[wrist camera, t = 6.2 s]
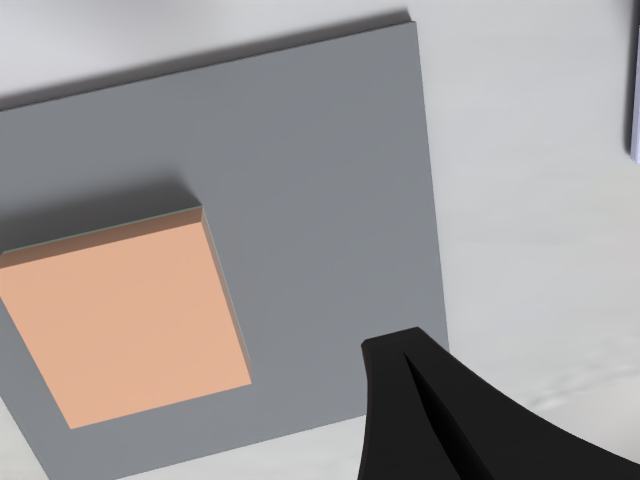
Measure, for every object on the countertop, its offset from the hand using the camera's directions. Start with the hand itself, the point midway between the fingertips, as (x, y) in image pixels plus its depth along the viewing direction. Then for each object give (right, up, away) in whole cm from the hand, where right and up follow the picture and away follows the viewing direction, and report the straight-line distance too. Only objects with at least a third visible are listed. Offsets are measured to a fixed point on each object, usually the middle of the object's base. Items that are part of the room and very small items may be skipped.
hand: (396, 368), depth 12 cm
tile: (-5, +1, +8) cm, 9 cm away
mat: (-6, +1, +9) cm, 11 cm away
